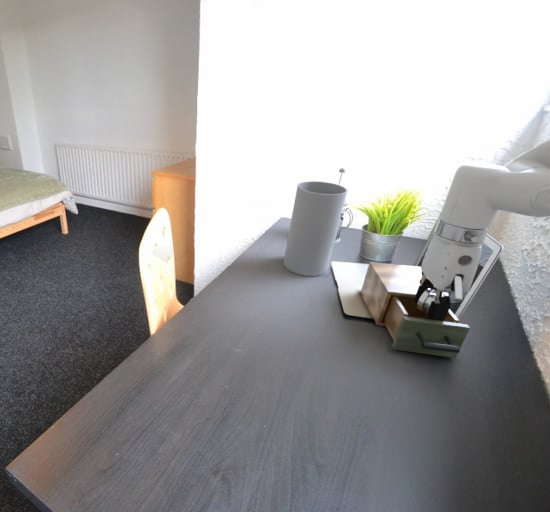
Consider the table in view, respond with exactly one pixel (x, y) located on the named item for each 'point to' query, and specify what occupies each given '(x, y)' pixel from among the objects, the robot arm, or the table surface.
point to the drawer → (422, 329)
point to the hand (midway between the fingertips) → (428, 309)
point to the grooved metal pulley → (427, 299)
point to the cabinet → (389, 286)
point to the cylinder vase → (314, 227)
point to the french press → (342, 215)
